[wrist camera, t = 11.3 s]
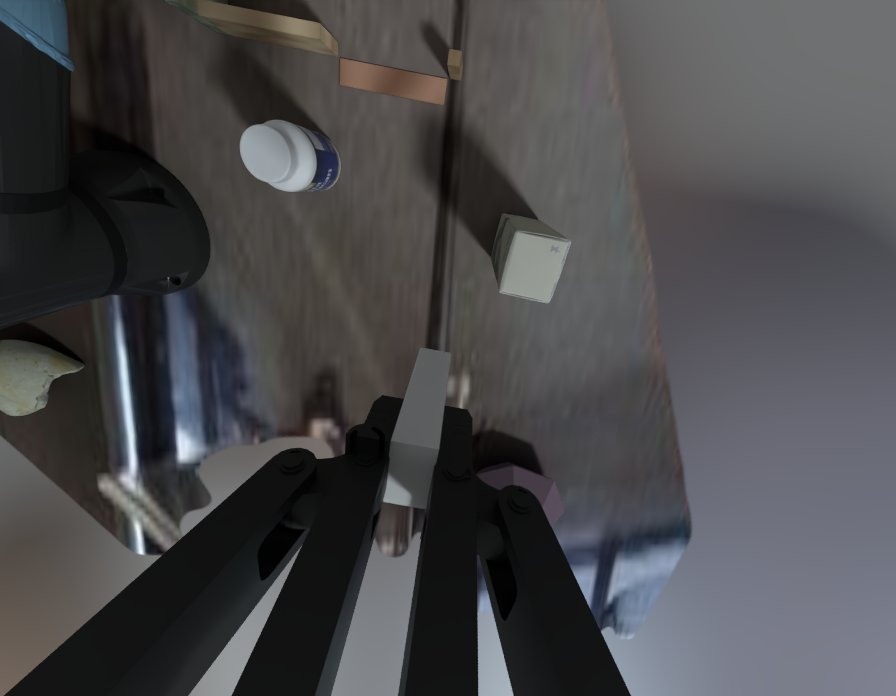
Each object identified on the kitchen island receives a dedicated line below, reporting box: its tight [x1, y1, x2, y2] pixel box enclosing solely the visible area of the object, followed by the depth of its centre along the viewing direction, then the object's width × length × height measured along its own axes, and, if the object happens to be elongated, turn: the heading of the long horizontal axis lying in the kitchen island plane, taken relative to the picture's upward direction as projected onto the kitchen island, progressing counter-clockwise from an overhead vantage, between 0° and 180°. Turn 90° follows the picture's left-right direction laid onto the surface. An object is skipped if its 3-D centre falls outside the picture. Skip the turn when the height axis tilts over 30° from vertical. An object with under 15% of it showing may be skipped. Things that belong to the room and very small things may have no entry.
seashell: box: [0, 340, 84, 416], centre depth 45 cm, size 13×8×10 cm
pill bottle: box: [240, 120, 341, 192], centre depth 30 cm, size 5×5×10 cm
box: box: [491, 213, 571, 303], centre depth 31 cm, size 5×4×13 cm
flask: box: [476, 462, 565, 527], centre depth 44 cm, size 16×16×20 cm
